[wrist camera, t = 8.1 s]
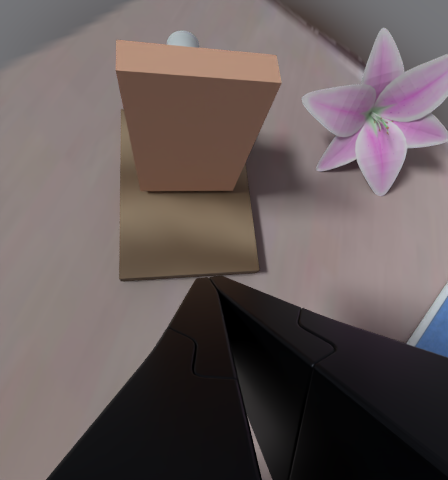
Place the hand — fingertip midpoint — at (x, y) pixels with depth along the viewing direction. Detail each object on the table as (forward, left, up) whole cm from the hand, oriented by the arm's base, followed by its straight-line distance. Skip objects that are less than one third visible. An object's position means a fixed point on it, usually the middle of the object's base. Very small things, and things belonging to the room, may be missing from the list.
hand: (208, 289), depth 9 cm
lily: (-2, -21, -13) cm, 25 cm away
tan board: (+6, -7, -12) cm, 16 cm away
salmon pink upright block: (+10, -10, -11) cm, 18 cm away
